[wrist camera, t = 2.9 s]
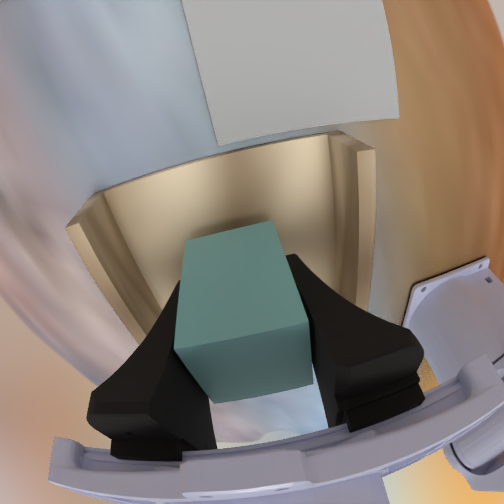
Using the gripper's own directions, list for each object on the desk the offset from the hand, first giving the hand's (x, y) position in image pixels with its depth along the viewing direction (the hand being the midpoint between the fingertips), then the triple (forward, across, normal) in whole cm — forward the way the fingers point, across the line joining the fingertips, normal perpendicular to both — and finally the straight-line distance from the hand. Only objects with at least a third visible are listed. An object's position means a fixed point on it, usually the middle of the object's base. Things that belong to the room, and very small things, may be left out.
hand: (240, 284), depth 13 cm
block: (+1, 0, 0) cm, 1 cm away
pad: (+3, -5, -10) cm, 12 cm away
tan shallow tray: (+3, 0, 0) cm, 3 cm away
